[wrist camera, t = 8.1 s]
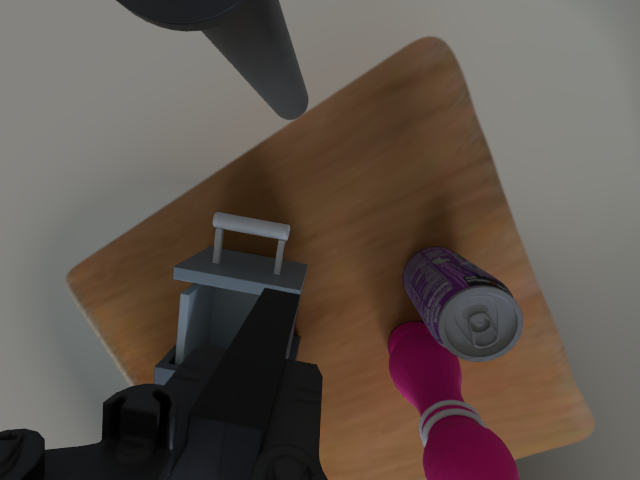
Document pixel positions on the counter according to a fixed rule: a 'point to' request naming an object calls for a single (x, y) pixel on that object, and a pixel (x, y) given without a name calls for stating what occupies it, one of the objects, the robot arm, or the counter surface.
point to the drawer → (230, 284)
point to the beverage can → (462, 305)
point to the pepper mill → (445, 410)
